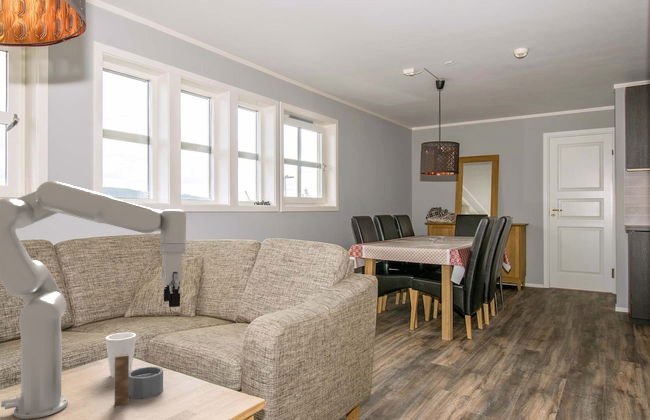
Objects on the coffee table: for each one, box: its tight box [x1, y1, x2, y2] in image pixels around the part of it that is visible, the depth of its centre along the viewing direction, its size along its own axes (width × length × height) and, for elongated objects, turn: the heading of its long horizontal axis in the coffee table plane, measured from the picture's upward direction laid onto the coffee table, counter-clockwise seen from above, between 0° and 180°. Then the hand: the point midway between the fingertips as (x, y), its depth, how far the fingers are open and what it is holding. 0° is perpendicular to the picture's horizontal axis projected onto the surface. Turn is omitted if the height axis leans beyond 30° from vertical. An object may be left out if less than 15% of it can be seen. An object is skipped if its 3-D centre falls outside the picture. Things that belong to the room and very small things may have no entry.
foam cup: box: [105, 332, 137, 379], centre depth 148 cm, size 10×9×13 cm
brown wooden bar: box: [114, 353, 130, 408], centre depth 124 cm, size 4×2×14 cm
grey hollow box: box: [133, 372, 157, 377], centre depth 133 cm, size 7×5×4 cm
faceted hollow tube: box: [128, 366, 164, 400], centre depth 133 cm, size 10×10×6 cm
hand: (171, 303), depth 135 cm, fingers open, 9 cm apart
